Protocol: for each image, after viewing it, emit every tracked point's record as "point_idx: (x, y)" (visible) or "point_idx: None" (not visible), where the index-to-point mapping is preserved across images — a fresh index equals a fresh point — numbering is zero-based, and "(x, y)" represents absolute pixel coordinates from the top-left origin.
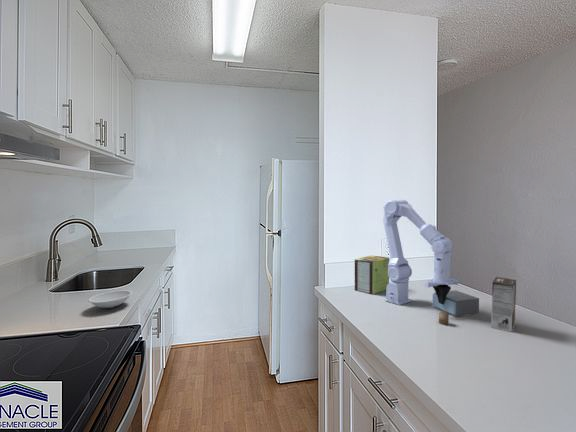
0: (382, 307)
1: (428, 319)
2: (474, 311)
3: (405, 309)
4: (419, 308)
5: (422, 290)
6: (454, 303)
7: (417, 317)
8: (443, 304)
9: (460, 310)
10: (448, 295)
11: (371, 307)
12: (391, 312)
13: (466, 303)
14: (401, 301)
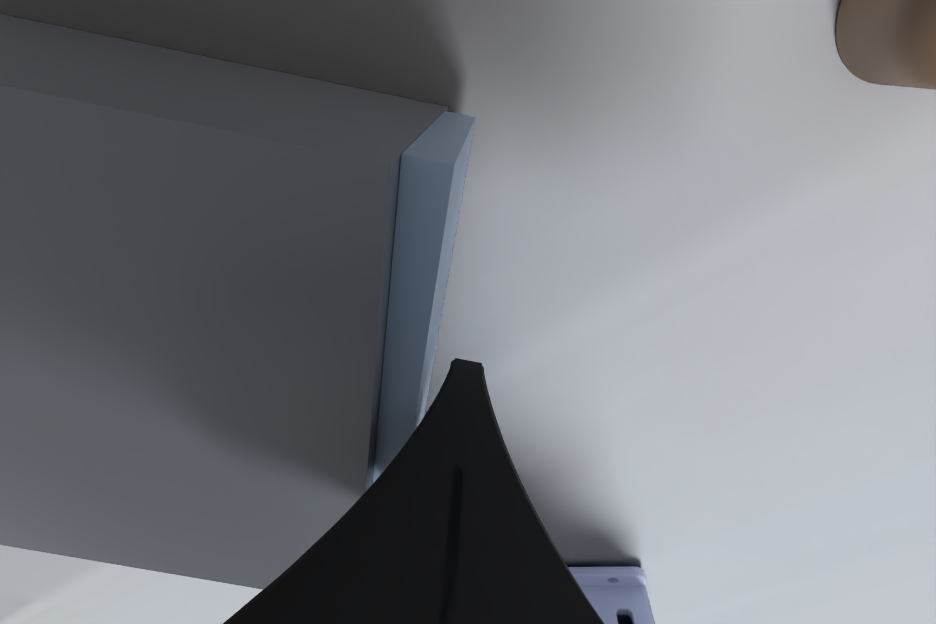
0: (804, 592)
1: (882, 236)
2: (32, 26)
3: (707, 506)
4: (568, 468)
5: (194, 618)
6: (456, 163)
7: (891, 343)
8: (429, 368)
9: (327, 98)
10: (238, 472)
11: (868, 619)
12: (897, 520)
13: (76, 70)
14: (592, 594)
